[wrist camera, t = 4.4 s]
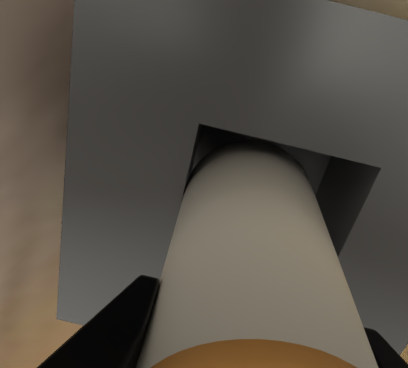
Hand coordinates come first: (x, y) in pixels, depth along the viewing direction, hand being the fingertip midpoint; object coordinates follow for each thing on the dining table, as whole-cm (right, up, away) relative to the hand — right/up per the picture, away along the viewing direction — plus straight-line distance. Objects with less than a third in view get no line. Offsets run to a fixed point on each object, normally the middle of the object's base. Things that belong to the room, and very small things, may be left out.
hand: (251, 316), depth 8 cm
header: (+1, +4, +8) cm, 9 cm away
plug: (0, +2, +4) cm, 5 cm away
